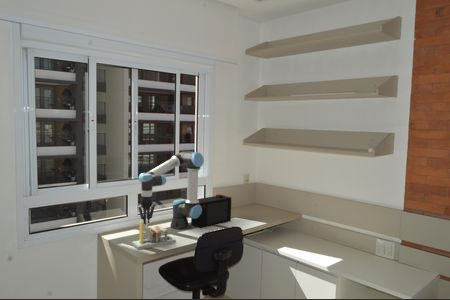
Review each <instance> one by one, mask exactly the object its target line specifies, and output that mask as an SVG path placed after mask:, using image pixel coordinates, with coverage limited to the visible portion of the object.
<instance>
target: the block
mask: <svg viewBox="0 0 450 300" xmlns="http://www.w3.org/2000/svg"><path fill="white" fill-rule="evenodd" d="M149 237H150V238H151V239H156V232H155V231H150V230H149ZM158 238H159V233H158Z"/></svg>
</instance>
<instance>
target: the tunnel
mask: <svg viewBox="0 0 450 300" xmlns="http://www.w3.org/2000/svg"><path fill="white" fill-rule="evenodd" d="M150 231H155V232H156V243H158V233H159V237H161V236H162V233H164V236H165V242H166V241H167V235H168V229H166V228H165V227H163V226H162V225H155V226H150V227H149V232H150Z"/></svg>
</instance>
